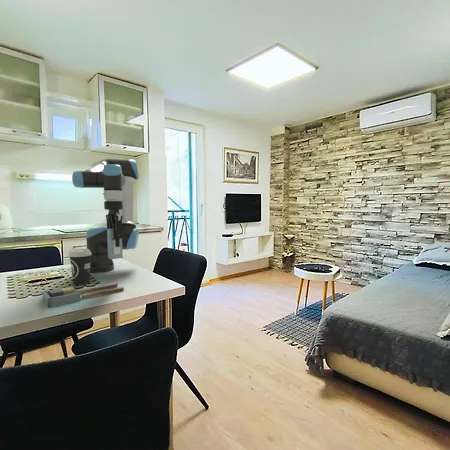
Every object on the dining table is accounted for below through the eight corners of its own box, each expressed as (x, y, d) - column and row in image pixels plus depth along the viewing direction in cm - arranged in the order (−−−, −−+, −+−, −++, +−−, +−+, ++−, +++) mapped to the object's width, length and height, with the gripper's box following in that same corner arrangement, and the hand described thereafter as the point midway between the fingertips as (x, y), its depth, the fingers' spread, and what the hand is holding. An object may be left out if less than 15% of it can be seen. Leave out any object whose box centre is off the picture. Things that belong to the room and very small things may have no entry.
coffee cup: (83, 286, 129) (82, 252, 127) (64, 285, 131) (63, 251, 129) (97, 280, 138) (96, 249, 137) (79, 279, 140) (78, 248, 139)
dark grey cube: (49, 301, 110) (49, 290, 110) (61, 298, 113) (61, 288, 113) (51, 303, 107) (51, 293, 107) (64, 301, 110) (63, 290, 110)
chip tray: (42, 299, 112) (42, 291, 112) (73, 293, 119) (72, 286, 119) (48, 307, 104) (48, 298, 103) (80, 300, 110) (80, 292, 110)
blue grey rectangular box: (108, 257, 130) (107, 228, 129) (119, 256, 134) (118, 228, 133) (111, 259, 127) (110, 229, 126) (122, 257, 131) (121, 228, 130)
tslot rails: (76, 293, 118) (76, 290, 118) (116, 286, 129) (116, 283, 129) (82, 299, 112) (82, 296, 112) (123, 290, 123) (123, 287, 122)
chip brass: (61, 298, 113) (61, 288, 113) (73, 296, 116) (72, 286, 115) (64, 301, 110) (63, 290, 110) (75, 299, 113) (75, 288, 112)
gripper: (98, 200, 132) (99, 251, 134) (111, 200, 120) (113, 257, 121) (114, 200, 137) (116, 250, 139) (129, 200, 124) (131, 255, 126)
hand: (115, 253), depth 130 cm, fingers closed on blue grey rectangular box, 4 cm apart
